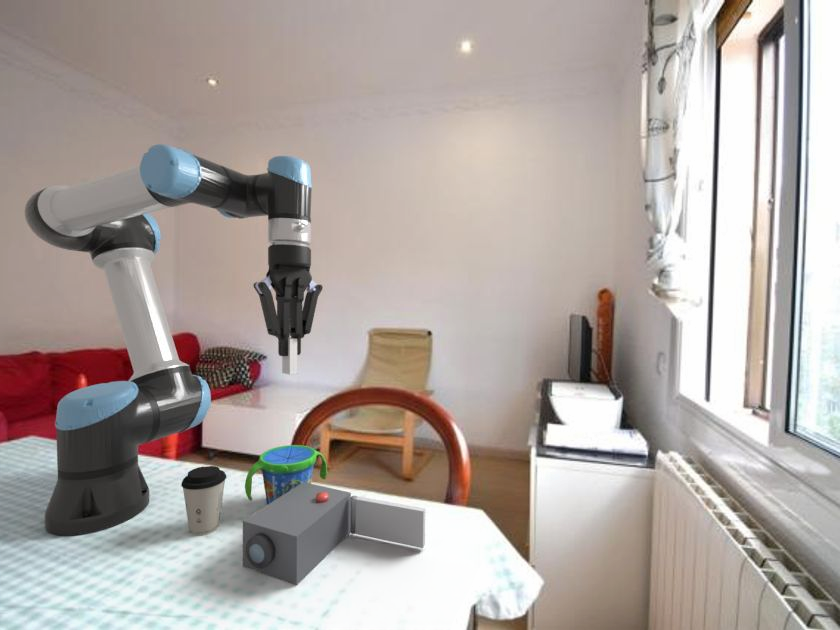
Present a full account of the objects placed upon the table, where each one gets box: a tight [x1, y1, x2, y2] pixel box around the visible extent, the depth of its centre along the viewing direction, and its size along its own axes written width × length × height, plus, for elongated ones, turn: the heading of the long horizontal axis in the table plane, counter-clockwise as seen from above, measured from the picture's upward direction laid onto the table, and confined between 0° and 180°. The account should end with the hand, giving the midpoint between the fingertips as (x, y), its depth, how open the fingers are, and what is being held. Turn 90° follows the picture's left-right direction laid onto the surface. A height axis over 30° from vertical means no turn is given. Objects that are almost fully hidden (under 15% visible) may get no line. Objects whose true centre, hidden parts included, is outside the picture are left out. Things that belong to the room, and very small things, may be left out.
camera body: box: [242, 482, 352, 586], centre depth 64 cm, size 10×15×8 cm, turn 158°
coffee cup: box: [180, 465, 227, 537], centre depth 70 cm, size 7×7×10 cm
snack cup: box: [244, 444, 328, 506], centre depth 78 cm, size 16×10×10 cm
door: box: [349, 495, 426, 549], centre depth 67 cm, size 2×13×6 cm, turn 72°
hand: (289, 373), depth 74 cm, fingers closed
